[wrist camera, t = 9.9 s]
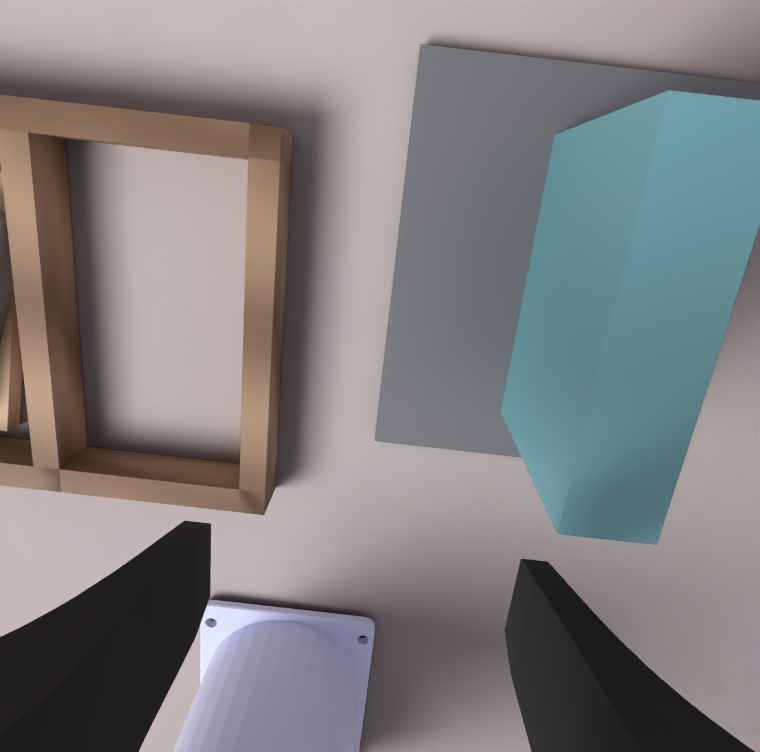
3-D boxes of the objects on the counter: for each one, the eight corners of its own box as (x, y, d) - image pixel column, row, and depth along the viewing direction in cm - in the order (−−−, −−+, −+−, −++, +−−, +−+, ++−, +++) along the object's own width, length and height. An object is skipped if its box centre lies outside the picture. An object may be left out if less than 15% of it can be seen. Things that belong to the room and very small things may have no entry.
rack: (275, 488, 23) (263, 514, 21) (-98, 446, 23) (-142, 469, 21) (293, 133, 19) (281, 126, 17) (-169, 80, 19) (-233, 67, 17)
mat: (665, 468, 22) (671, 474, 22) (375, 435, 22) (374, 440, 22) (783, 90, 18) (794, 87, 17) (419, 48, 18) (420, 44, 17)
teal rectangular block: (564, 419, 21) (656, 544, 14) (500, 412, 21) (557, 533, 14) (629, 143, 18) (798, 105, 10) (554, 134, 18) (668, 90, 10)
